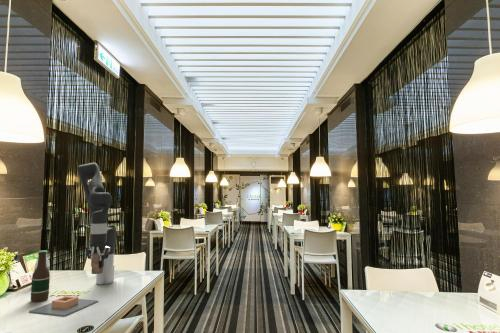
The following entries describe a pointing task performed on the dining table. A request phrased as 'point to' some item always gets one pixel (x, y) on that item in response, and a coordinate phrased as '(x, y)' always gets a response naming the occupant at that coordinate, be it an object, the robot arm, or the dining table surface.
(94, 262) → the walnut peg
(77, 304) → the socket holder
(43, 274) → the beer bottle
